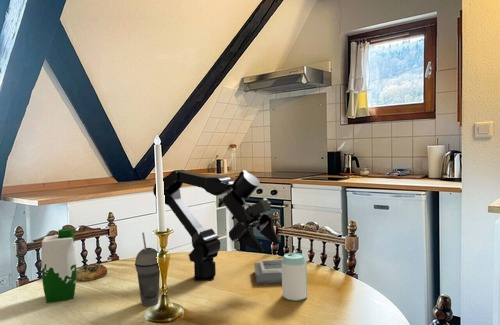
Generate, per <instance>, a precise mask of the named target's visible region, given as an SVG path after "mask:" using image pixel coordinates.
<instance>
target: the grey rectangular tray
mask: <svg viewBox="0 0 500 325" xmlns="http://www.w3.org/2000/svg"><path fill="white" fill-rule="evenodd" d="M282 260H283V258H280V259H279V258H277V259H275V258H274V259H260V260H259V262H255V263H253V264H254V266H253V267H254V268H253V269H254V276H255V281H256V284H257V285H275V284H282Z"/></svg>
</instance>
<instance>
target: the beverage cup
mask: <svg viewBox="0 0 500 325" xmlns="http://www.w3.org/2000/svg"><path fill="white" fill-rule="evenodd" d="M145 237H146V236H145V232H142V240H143V249H141V250H140V251H139V252H138V253H137V254H136V257H135V260H134V261H135V262H134V266H135V270H136V273H137V280H138V281H137V282H138V288H139V295H140V296H139V297H140V300H141V305H142V306H143V307H152V306H156V305H157V304H158V303H159V295H160V294H159V293H160V275H161V274H160V273H161V272H160V271H161V269H160V270H159V266H158V263H157V258H156V257H157V253H159V251H157V250H156V249H155V248H154V247H153V248H152V247H147V243H146V238H145Z"/></svg>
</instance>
